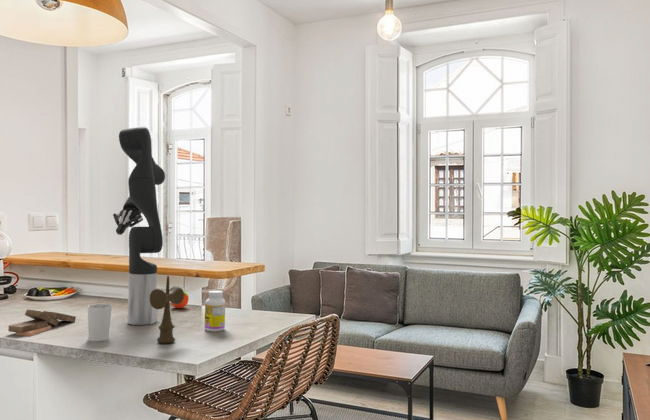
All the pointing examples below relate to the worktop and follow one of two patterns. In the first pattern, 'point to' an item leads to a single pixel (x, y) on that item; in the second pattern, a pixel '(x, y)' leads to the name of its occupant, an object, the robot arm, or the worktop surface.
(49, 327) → the domino
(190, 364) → the worktop surface
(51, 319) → the domino
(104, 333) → the drinking glass
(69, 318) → the domino
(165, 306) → the kendama
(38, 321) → the domino
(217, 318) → the supplement bottle
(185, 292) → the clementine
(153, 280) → the robot arm
